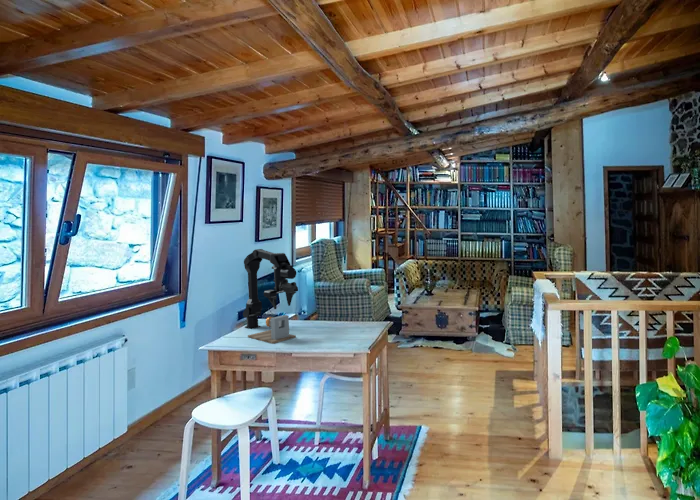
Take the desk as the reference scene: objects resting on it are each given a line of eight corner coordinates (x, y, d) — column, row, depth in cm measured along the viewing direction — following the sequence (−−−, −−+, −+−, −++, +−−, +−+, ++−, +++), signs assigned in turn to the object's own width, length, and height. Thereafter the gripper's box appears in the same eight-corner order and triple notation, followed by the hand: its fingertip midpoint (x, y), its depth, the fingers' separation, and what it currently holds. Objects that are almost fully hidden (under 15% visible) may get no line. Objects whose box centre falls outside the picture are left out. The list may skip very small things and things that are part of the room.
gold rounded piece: (265, 327, 253) (265, 317, 252) (273, 325, 256) (273, 315, 256) (276, 329, 247) (275, 319, 247) (284, 327, 251) (283, 317, 251)
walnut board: (247, 337, 255) (247, 335, 255) (270, 331, 266) (270, 329, 266) (272, 343, 242) (272, 341, 242) (295, 337, 253) (295, 335, 253)
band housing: (270, 338, 247) (270, 318, 247) (284, 335, 254) (284, 314, 253) (275, 339, 245) (274, 318, 244) (289, 336, 252) (288, 315, 251)
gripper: (276, 281, 244) (278, 312, 246) (304, 275, 258) (306, 305, 259) (261, 280, 252) (264, 310, 253) (290, 274, 265) (292, 303, 267)
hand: (282, 307), depth 258 cm, fingers open, 9 cm apart
